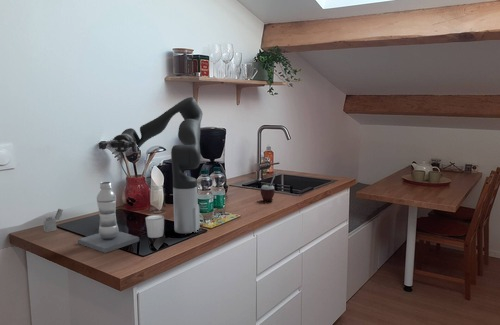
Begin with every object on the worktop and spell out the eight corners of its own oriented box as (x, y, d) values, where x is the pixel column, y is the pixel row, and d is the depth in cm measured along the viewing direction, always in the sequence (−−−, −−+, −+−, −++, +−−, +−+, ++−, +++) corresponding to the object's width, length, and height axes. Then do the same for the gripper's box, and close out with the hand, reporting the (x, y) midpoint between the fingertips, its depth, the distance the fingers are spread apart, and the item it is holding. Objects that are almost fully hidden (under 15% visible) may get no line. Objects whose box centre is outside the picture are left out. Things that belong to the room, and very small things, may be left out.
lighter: (45, 232, 156) (43, 212, 155) (43, 231, 157) (42, 211, 156) (64, 228, 161) (63, 208, 159) (63, 227, 162) (61, 207, 161)
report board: (139, 241, 145) (139, 237, 145) (105, 252, 134) (105, 248, 134) (112, 232, 154) (111, 229, 154) (78, 243, 143) (77, 239, 143)
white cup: (157, 231, 156) (156, 213, 155) (168, 234, 152) (168, 216, 151) (142, 235, 151) (141, 217, 150) (153, 239, 147) (153, 220, 146)
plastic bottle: (112, 241, 140) (109, 185, 137) (95, 240, 142) (91, 184, 139) (122, 235, 146) (119, 181, 144) (105, 234, 148) (102, 180, 145)
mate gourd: (257, 200, 204) (257, 171, 202) (269, 198, 209) (269, 169, 207) (267, 203, 198) (267, 173, 196) (279, 201, 203) (279, 171, 201)
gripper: (140, 151, 177) (132, 155, 161) (107, 151, 176) (95, 156, 160) (139, 133, 176) (131, 137, 160) (106, 134, 175) (94, 137, 159)
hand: (113, 146), depth 160 cm, fingers open, 8 cm apart
